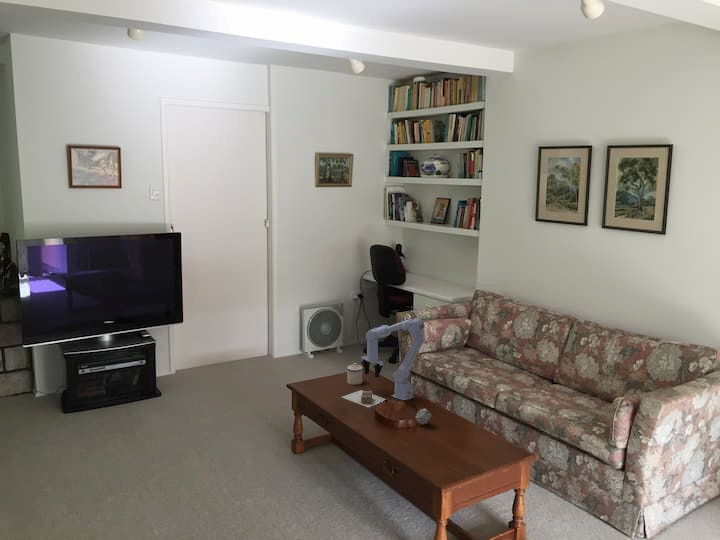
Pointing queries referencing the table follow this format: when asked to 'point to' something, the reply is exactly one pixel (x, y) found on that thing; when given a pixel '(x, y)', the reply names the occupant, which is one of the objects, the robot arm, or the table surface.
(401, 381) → the robot arm
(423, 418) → the grey rock
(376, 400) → the grey mat
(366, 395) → the brown rectangular block
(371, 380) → the table surface
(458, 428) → the table surface
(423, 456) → the table surface
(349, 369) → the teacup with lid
